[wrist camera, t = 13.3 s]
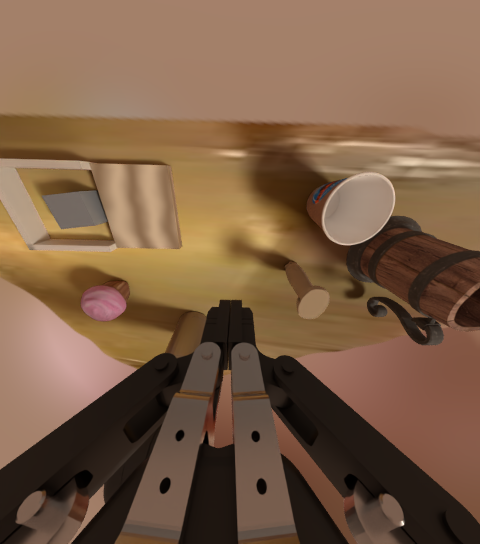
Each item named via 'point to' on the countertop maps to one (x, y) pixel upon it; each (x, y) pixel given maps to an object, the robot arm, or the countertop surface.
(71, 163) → the box
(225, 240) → the countertop surface
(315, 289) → the handle
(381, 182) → the coffee cup
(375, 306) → the tankard
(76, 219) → the matte grey cube
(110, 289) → the cupcake
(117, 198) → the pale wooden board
